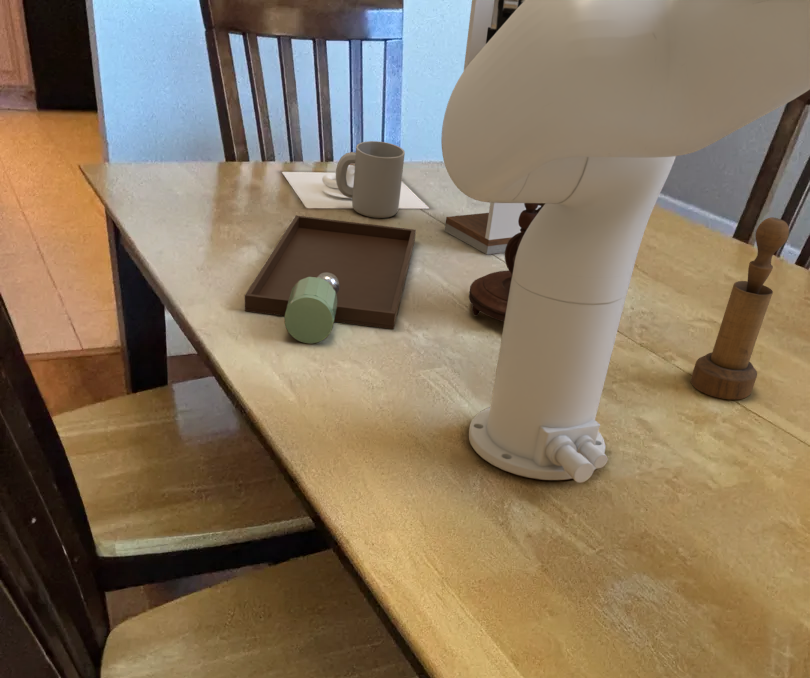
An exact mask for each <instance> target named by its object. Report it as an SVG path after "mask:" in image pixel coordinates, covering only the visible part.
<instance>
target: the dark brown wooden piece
mask: <svg viewBox="0 0 810 678" xmlns="http://www.w3.org/2000/svg"><path fill="white" fill-rule="evenodd" d="M524 205H525V208H526V210H523V211H522V212H521V214H520V216H519V220H518V223H519V226H520V227H521V229H520V231H521V232H520V233H518V234H516V235H514V236H513V237H512V238H511V239H510V240H509V242H508V244H507V246H506V249H505V252H504V262H505V265H506V267H507V269H508V270H499V271H494V272H491V273H488V274H486V275H484V276H483V275H482V276H481V277H479V278H477V279H475V280H474V281H472V283H471V284H470V286H469V293H468V299H469V302H470V304H471V311H472V314H473V316H475V317H478V316H479V314H480V313H482V314H484V315H486V316H488V317H489V318H492V319H494V320H497V321H500V322H503V323H504V321H505V315H506V309H507V303H508V297H509V291H510V285H511V280H512V275H513V269H514V263H515V258H516V254H517V250H518V247H519V245H520V242H521V240H522V238H523V236H524V234H525V232H526V230H527V229H528V227H529V225H530V224H531V222H532V221H533V219H534V218H535V217H536V215H537V214H538V213H539V211H540V210H541V209H542V207H543V206H544V205H545V203H524ZM538 205H539V206H541V207H539V208H538V209H537V210H535V209H536V208H537V207H538Z"/></svg>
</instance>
